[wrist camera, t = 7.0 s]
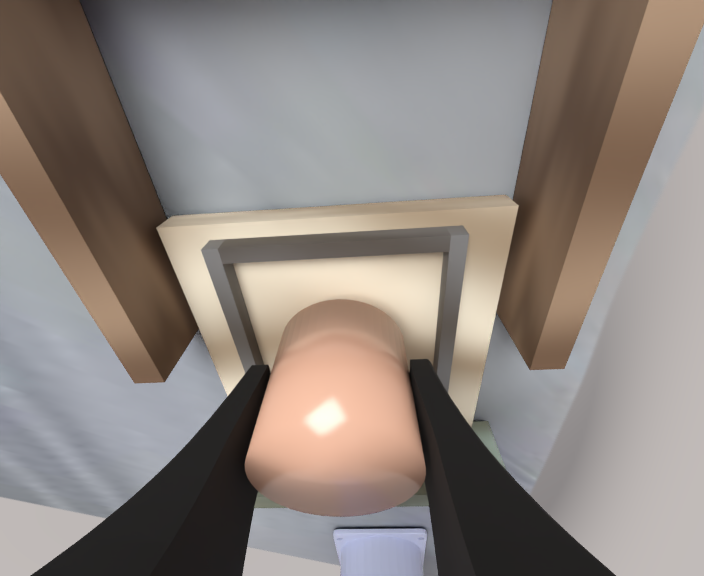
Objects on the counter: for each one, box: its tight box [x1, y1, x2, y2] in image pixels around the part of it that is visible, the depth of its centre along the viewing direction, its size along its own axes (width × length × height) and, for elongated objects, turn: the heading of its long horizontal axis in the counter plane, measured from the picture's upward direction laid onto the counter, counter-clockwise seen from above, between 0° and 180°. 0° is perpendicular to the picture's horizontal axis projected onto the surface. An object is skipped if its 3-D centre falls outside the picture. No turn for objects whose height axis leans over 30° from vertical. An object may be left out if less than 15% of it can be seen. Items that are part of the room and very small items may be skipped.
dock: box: [0, 0, 704, 383], centre depth 10 cm, size 15×16×4 cm
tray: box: [156, 195, 519, 508], centre depth 15 cm, size 15×16×4 cm
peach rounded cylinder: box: [245, 299, 426, 517], centre depth 11 cm, size 5×5×5 cm
